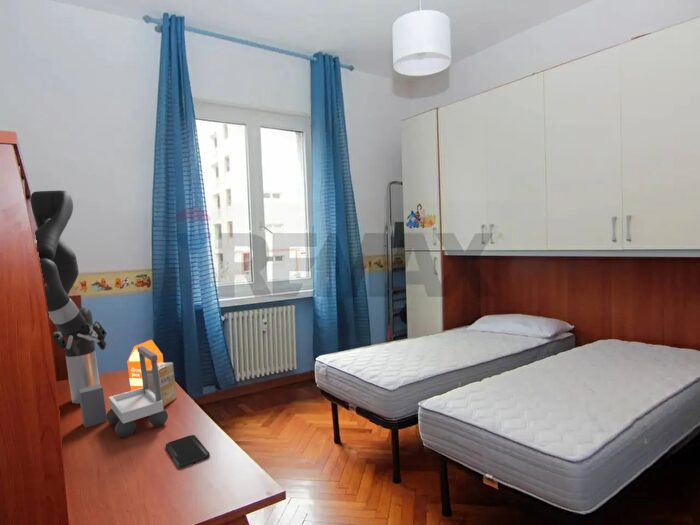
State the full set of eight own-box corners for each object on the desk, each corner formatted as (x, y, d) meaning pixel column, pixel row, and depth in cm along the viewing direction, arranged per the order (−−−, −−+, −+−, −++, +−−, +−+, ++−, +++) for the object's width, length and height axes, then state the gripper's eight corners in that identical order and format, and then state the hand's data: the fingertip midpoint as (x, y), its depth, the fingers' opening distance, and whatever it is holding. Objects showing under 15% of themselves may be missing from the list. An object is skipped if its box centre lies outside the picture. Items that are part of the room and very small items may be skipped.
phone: (193, 434, 122) (210, 454, 110) (194, 437, 122) (211, 458, 110) (164, 443, 117) (178, 466, 105) (164, 447, 117) (178, 470, 105)
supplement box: (163, 408, 144) (158, 370, 143) (150, 408, 145) (145, 370, 144) (177, 398, 152) (173, 361, 151) (165, 398, 153) (161, 362, 152)
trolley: (106, 423, 135) (97, 355, 134) (153, 408, 144) (145, 344, 142) (119, 442, 122) (109, 367, 120) (170, 425, 130) (162, 354, 128)
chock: (83, 423, 137) (78, 389, 136) (104, 416, 141) (100, 384, 140) (85, 427, 133) (80, 393, 132) (107, 421, 137) (102, 387, 136)
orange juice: (167, 392, 158) (161, 339, 156) (150, 402, 150) (143, 346, 148) (149, 392, 160) (142, 339, 158) (131, 402, 152) (124, 346, 150)
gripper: (92, 302, 138) (115, 338, 147) (46, 312, 137) (73, 347, 146) (84, 317, 131) (109, 354, 141) (37, 328, 131) (64, 364, 140)
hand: (90, 351), depth 143 cm, fingers open, 8 cm apart
